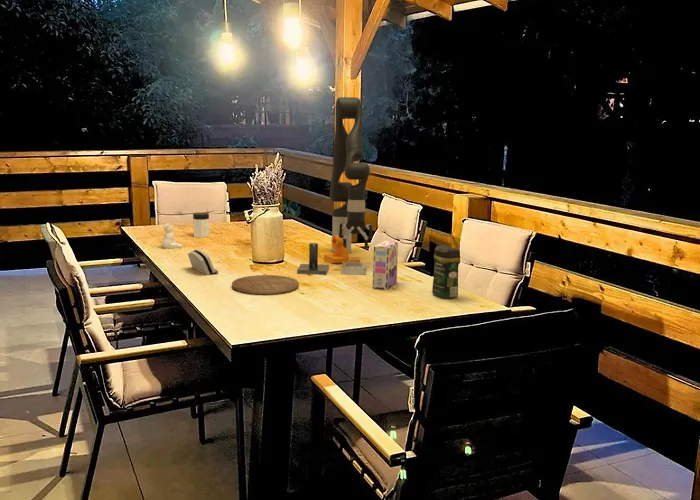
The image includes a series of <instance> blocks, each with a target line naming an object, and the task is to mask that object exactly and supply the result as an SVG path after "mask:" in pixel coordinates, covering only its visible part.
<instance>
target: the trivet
mask: <svg viewBox="0 0 700 500" xmlns="http://www.w3.org/2000/svg"><path fill="white" fill-rule="evenodd" d="M299 286H300V282H299V281H298V280H297V279H295V278H292V277H289V276H285V275H273V274H263V275H261V274H260V275H257V274H256V275H249V276H243V277H239V278H236V279H235V280H232V283H231V288H232V290H233V291H235V292H238V293H241V294H246V295H250V296H251V295H253V296H275V295H276V296H278V295H285V294H289V293H292V292H295V291H297V290H298V289H299Z"/></svg>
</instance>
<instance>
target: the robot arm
mask: <svg viewBox="0 0 700 500" xmlns="http://www.w3.org/2000/svg"><path fill="white" fill-rule="evenodd" d="M362 112H363V110H362V101H361V99H360V98H359V97H356V96H355V97H353V96H352V97H351V96H350V97H349V96H347V97H346V96H345V97H344V96H343V97H338V98H337V99H336V102H335V111H334V113H335V115H334V116H335V118H334V119H335V120H334V121H335V125H334V127H335V128H334V140H333V153H332V171H331V178H330V185H329V186H330V188H329V199H330V200H331V202H335V203H343V205H341V206H340V207H337V208H335V209H333V210H332V220H331V221H332V225H331V226H332V228H331V230H332V231H331V235H332V236H333V235H339V237H340V238H342V239H343V246H344V247H345V248H346V245H347V248H348V254H349V253H351V252H352V236H353V235H360V234H361V236H362V237H363V238H364V249H367V248H368V246H369V240H370V239H373V224H372V223H369V224H366V187H367V184H368V183H367V182H368V179H369V176H370V173H371V172H370V171H371V170H370V169H371V168H370V166H369V165H368V163H366V162H358V161H361V160H363V158H364V148H363V147H364V146H363V137H362V133H363V132H362V129H363V128H362V127H363V120H362V119H363V113H362ZM346 119H347V120H354V123H353V126H352V128H351V129H350V132H349V133H348V132H347V129H346V128H345V125H344V120H346ZM343 173H344V176H345V178H346V179H347V180H351V181H353V180H355V181H356V180H359V182H358V183H357V184H353V183H352V182H351V181H350V182H349V181H348V182H347V181H345V182H343V181H342V182H341V181H340V179H341V176H342V175H343ZM366 228H367V230H368V233H369V235H367V233H366V232H365V229H366ZM332 236H331V237H332ZM332 252H334V247H333V246H332V245H331V253H332Z"/></svg>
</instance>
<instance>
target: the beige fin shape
mask: <svg viewBox="0 0 700 500" xmlns="http://www.w3.org/2000/svg"><path fill="white" fill-rule="evenodd" d="M187 257H188V258H189V262H190V265H191V267H193V268H192V269H194V268H195V269H194V270H196V269H197V270H196V271H198V270H199V271H198V272H200V273H202V274H204V275H206V276H209V275H210V276H211V273H212V274H214V273H215V274H217V275H219V274H218V273H219V269H217V268H215V267H214V265H213V263H212V260H211V258H210V257H209V255H208V254H207V253H206V252H205V251H203V250H202V249H194V250H192V251H191V250H190V252H188V253H187Z"/></svg>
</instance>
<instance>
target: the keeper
mask: <svg viewBox="0 0 700 500" xmlns="http://www.w3.org/2000/svg"><path fill="white" fill-rule="evenodd" d="M308 247H309V248H308V251H309V253H308V263H300V265H299V266H298V268H297V270H296V274H298V275H299V274H300V275H327V273H328V272H329V269H330V266H329V264H319V263H318V261H319V259H318V258H319V244H318V243H317V242H316V243H315V242H310V243H309V244H308Z"/></svg>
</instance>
